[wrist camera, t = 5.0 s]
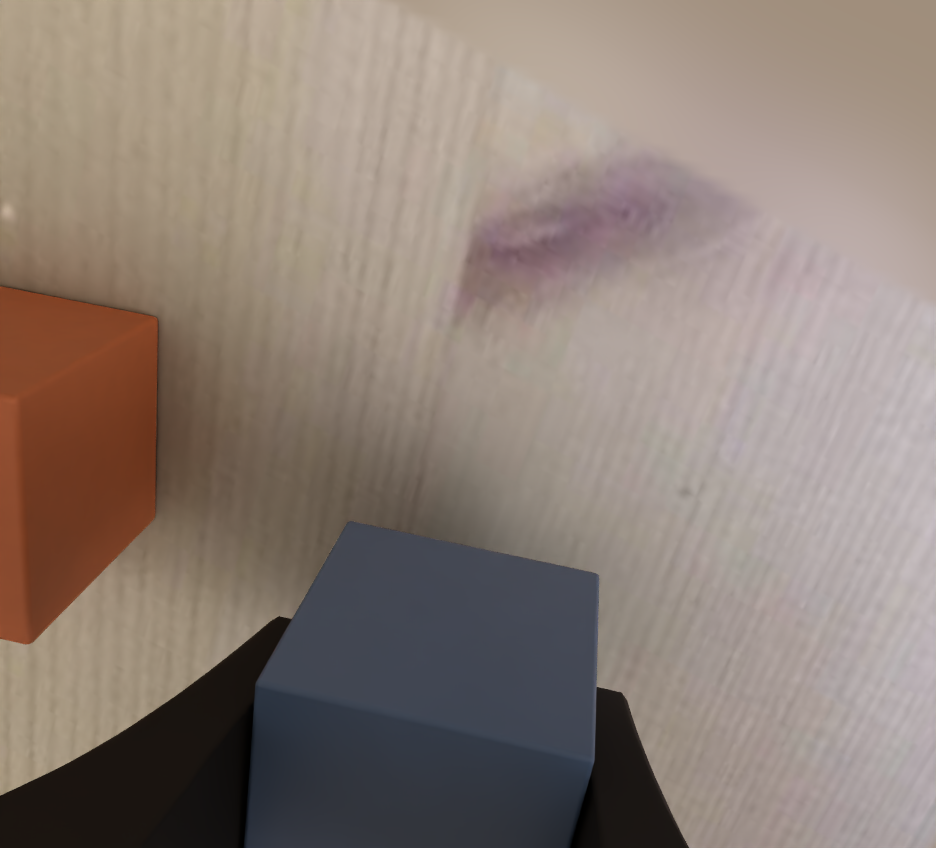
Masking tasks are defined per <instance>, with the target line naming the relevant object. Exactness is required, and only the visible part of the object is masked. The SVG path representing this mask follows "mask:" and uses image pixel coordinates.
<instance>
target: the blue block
mask: <svg viewBox="0 0 936 848" xmlns="http://www.w3.org/2000/svg"><path fill="white" fill-rule="evenodd" d="M598 609H599V575H598V574H596V573H593V572H588V571H583V570H579V569H574V568H569V567H565V566H560V565H555V564H551V563H546V562H541V561H536V560H532V559H527V558H522V557H518V556H513V555H508V554H504V553H499V552H494V551H489V550H485V549H480V548H475V547H471V546H466V545H461V544H457V543H452V542H447V541H442V540H438V539H433V538H428V537H424V536H419V535H414V534H410V533H405V532H400V531H395V530H391V529H386V528H381V527H377V526H372V525H367V524H363V523H358V522H353V521H349V522H347V524H346V525H345V527H344V529H343V531H342V532H341V534H340V536H339V538H338V539H337V541H336V543H335V545H334V546H333V548H332V550H331V552H330V553H329V555H328V557H327V559H326V560H325V562H324V564H323V566H322V567H321V569H320V571H319V573H318V574H317V576H316V578H315V580H314V581H313V583H312V585H311V587H310V588H309V590H308V592H307V594H306V595H305V597H304V599H303V601H302V602H301V604H300V606H299V608H298V610H297V611H296V613H295V615H294V617H293V618H292V620H291V622H290V624H289V625H288V627H287V629H286V631H285V632H284V634H283V636H282V638H281V639H280V641H279V643H278V645H277V646H276V648H275V650H274V652H273V653H272V655H271V657H270V659H269V660H268V662H267V664H266V666H265V667H264V669H263V671H262V673H261V674H260V676H259V678H258V680H257V681H256V685H255V698H254V712H253V726H252V740H251V754H250V767H249V781H248V795H247V809H246V823H245V836H244V848H571V845H572V841H573V837H574V834H575V830H576V827H577V823H578V819H579V816H580V812H581V808H582V805H583V801H584V797H585V794H586V790H587V787H588V783H589V779H590V776H591V772H592V768H593V765H594V761H595V726H596V687H597V648H598Z"/></svg>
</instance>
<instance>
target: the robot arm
mask: <svg viewBox="0 0 936 848" xmlns="http://www.w3.org/2000/svg"><path fill="white" fill-rule="evenodd" d="M291 620H292V619H289V618H284V617H280V616H279V617H277V618H275V619H274V620H272V621H270V622H269V623H268V624H267V625H266V626H264V627H263V628H262V629H261V630H260V631H258V632H257V633H256V634H255V635H254V636H252V637H251V638H250V639H249V640H248V641H246V642H245V643H244V644H243V645H242V646H240V647H239V648H238V649H237V650H235V651H234V652H233V653H232V654H230V655H229V656H228V657H227V658H225V659H224V660H223V661H222V662H220V663H219V664H218V665H217V666H215V667H214V668H213V669H211V670H210V671H209V672H207V673H206V674H205V675H203V676H202V677H201V678H199V679H198V680H197V681H195V682H194V683H193V684H191V685H190V686H189V687H187V688H186V689H185V690H183V691H182V692H181V693H179V694H178V695H176V696H175V697H174V698H172V699H171V700H169V701H168V702H166V703H165V704H163V705H162V706H160V707H159V708H157V709H156V710H154V711H153V712H151V713H150V714H148V715H147V716H145V717H144V718H142V719H141V720H139V721H138V722H137V723H135V724H134V725H132V726H131V727H129V728H127V729H126V730H124V731H123V732H121V733H119V734H118V735H116V736H114V737H113V738H111V739H110V740H108V741H106V742H104V743H103V744H101V745H99V746H98V747H96V748H94V749H92V750H91V751H89V752H87V753H85V754H84V755H82V756H80V757H78V758H76V759H75V760H73V761H71V762H69V763H67V764H65V765H64V766H62V767H60V768H58V769H56V770H54V771H52V772H50V773H48V774H45V775H43V776H41V777H39V778H37V779H35V780H33V781H31V782H29V783H26V784H24V785H22V786H20V787H18V788H16V789H14V790H12V791H9V792H7V793H5V794H3V795H1V796H0V848H244V836H245V823H246V809H247V795H248V781H249V767H250V754H251V740H252V726H253V712H254V698H255V685H256V681H257V680H258V678H259V676H260V674H261V673H262V671H263V669H264V667H265V666H266V664H267V662H268V660H269V659H270V657H271V655H272V653H273V652H274V650H275V648H276V646H277V645H278V643H279V641H280V639H281V638H282V636H283V634H284V632H285V631H286V629H287V627H288V625H289V624H290V622H291ZM571 848H689V847H688V845H687V843H686V841H685V840H684V838H683V836H682V834H681V832H680V830H679V828H678V826H677V824H676V822H675V820H674V818H673V815H672V813H671V811H670V809H669V807H668V804H667V802H666V800H665V798H664V796H663V794H662V791H661V789H660V787H659V785H658V783H657V780H656V778H655V776H654V773H653V771H652V769H651V766H650V764H649V761H648V759H647V756H646V754H645V751H644V748H643V746H642V743H641V741H640V738H639V735H638V733H637V730H636V727H635V724H634V721H633V718H632V715H631V712H630V709H629V705H628V702H627V700H626V698H625V697H624V695H623V694H622V693H621V692H617V691H612V690H608V689H603V688H599V687H596V726H595V761H594V765H593V768H592V772H591V776H590V779H589V783H588V787H587V790H586V794H585V797H584V801H583V805H582V808H581V812H580V816H579V819H578V823H577V827H576V830H575V834H574V837H573V841H572V845H571Z"/></svg>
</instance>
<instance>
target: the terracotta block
mask: <svg viewBox="0 0 936 848" xmlns="http://www.w3.org/2000/svg"><path fill="white" fill-rule="evenodd" d="M157 343H158V320H157V318H155V317H153V316H149V315H144V314H139V313H134V312H128V311H123V310H118V309H113V308H108V307H103V306H98V305H93V304H88V303H83V302H78V301H73V300H68V299H63V298H57V297H52V296H47V295H42V294H37V293H32V292H27V291H22V290H17V289H12V288H7V287H2V286H0V639H4V640H9V641H13V642H17V643H22V644H30V643H33V642H34V641H35V640H36V639H37V638H38V637H39V636H40V635H41V634H42V632H43V631H44V630H45V629H46V628H47V627H48V626H49V625H50V624H51V623H52V622H53V621H54V620H55V619H56V618H57V617H58V616H59V615H60V614H61V613H62V612H63V611H64V610H65V609H66V608H67V607H68V606H69V605H70V604H71V603H72V602H73V601H74V600H75V599H76V598H77V597H78V596H79V595H80V594H81V593H82V592H83V591H84V590H85V589H86V588H87V587H88V586H89V585H90V584H91V583H92V582H93V581H94V580H95V579H96V578H97V577H98V576H99V575H100V574H101V572H102V571H103V570H104V569H105V568H106V567H107V566H108V565H109V564H110V563H111V562H112V561H113V560H114V559H115V558H116V557H117V556H118V555H119V554H120V553H121V552H122V551H123V550H124V549H125V548H126V547H127V546H128V545H129V544H130V543H131V542H132V541H133V540H134V539H135V538H136V537H137V536H138V535H139V534H140V533H141V532H142V531H143V530H144V529H145V528H146V527H147V526H148V525H149V524H150V523H151V522H152V521H153V519H154V518H155V487H156V415H157Z"/></svg>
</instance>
